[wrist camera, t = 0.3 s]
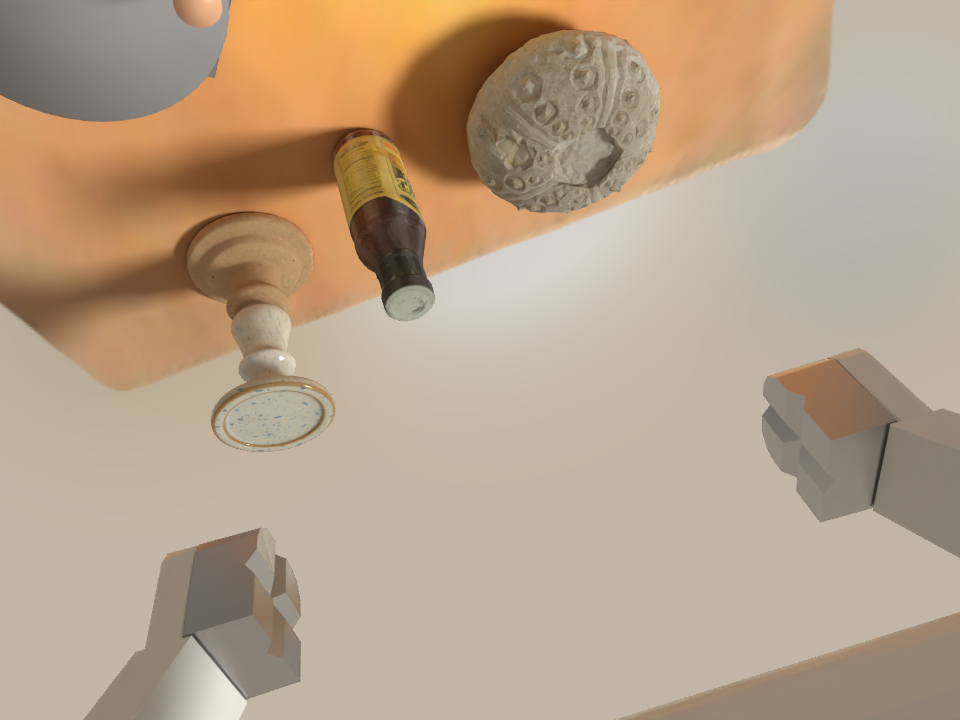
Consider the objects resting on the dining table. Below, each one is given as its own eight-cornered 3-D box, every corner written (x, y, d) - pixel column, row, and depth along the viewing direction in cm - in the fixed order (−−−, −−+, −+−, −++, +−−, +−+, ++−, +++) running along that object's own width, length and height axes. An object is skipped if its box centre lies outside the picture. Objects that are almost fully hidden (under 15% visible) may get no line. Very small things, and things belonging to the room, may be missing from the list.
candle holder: (161, 235, 69) (170, 409, 57) (285, 194, 69) (319, 359, 58) (220, 312, 79) (238, 473, 67) (328, 276, 79) (364, 430, 68)
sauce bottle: (400, 172, 71) (453, 325, 60) (336, 185, 70) (378, 343, 59) (391, 114, 65) (448, 271, 54) (323, 128, 64) (366, 290, 53)
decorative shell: (466, 192, 75) (495, 260, 70) (442, 33, 61) (475, 102, 55) (628, 147, 77) (668, 209, 71) (642, -20, 62) (695, 43, 56)
